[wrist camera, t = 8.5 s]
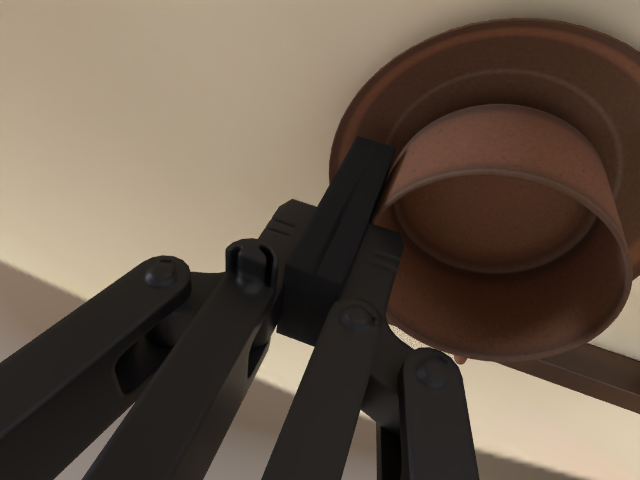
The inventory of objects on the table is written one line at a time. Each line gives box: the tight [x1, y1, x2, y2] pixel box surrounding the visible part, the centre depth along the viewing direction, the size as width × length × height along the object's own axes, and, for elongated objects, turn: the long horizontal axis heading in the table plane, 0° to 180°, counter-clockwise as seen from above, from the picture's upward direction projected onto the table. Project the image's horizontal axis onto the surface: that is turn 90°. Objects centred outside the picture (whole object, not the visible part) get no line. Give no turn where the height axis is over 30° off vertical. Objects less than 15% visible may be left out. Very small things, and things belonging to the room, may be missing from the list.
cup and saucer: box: [329, 18, 640, 364], centre depth 15 cm, size 12×12×6 cm
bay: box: [386, 318, 640, 414], centre depth 16 cm, size 14×17×2 cm
